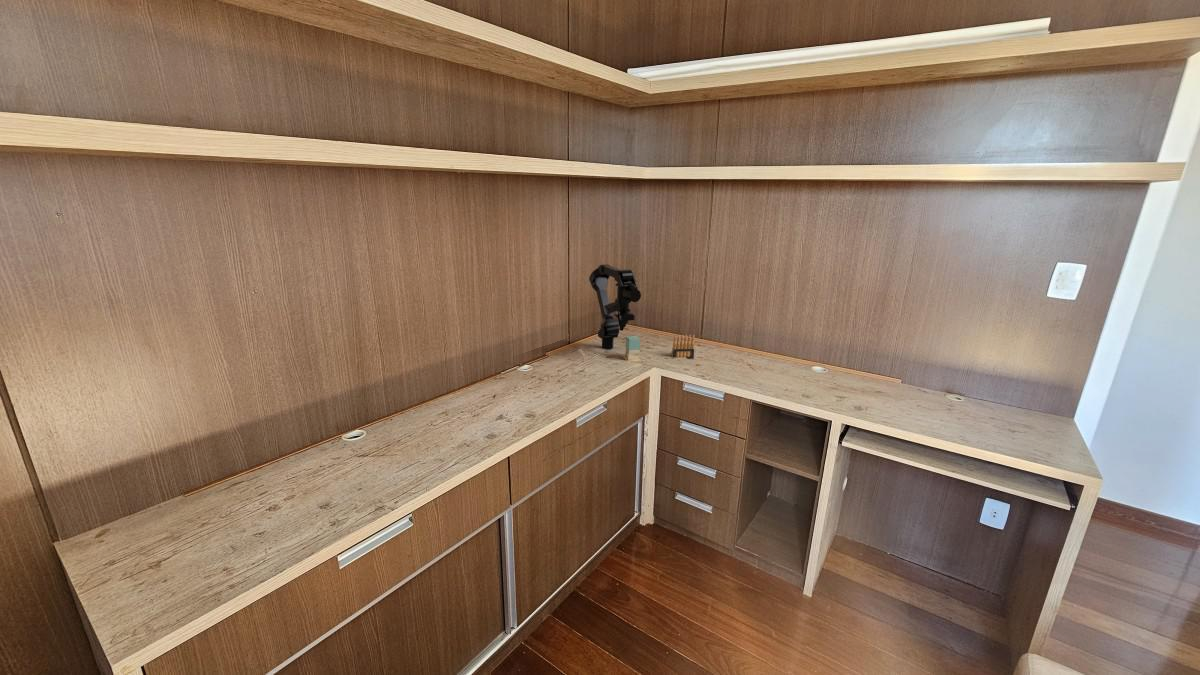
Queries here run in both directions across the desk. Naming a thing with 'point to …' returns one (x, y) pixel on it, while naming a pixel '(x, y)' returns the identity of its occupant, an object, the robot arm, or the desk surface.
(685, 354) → the ammunition clip
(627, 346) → the teal block
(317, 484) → the desk surface
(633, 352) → the maple block
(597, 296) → the robot arm
